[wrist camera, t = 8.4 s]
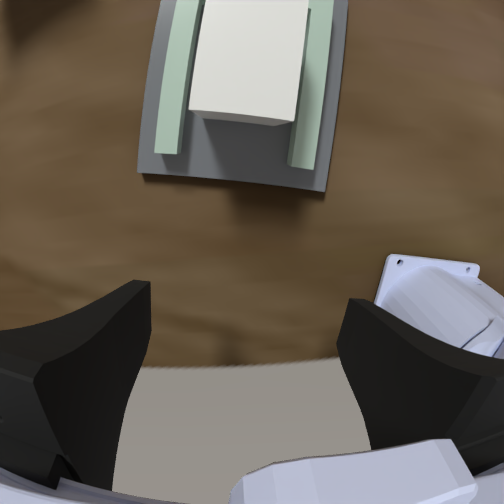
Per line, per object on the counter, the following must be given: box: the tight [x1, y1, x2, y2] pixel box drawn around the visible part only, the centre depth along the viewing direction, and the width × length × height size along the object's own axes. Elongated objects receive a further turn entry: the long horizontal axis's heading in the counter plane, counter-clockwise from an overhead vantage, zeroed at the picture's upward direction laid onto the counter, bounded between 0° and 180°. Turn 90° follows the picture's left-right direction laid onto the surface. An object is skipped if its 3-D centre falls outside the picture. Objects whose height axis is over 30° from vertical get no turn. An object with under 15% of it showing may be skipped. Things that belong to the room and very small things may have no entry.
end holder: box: [137, 0, 348, 192], centre depth 16 cm, size 11×13×2 cm
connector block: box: [189, 0, 309, 126], centre depth 13 cm, size 4×6×6 cm, turn 173°
